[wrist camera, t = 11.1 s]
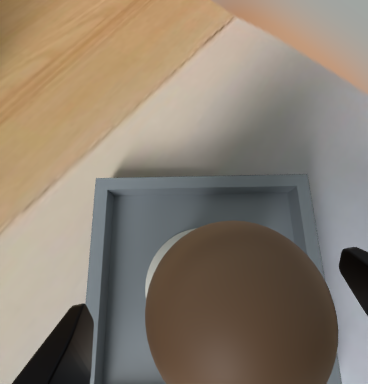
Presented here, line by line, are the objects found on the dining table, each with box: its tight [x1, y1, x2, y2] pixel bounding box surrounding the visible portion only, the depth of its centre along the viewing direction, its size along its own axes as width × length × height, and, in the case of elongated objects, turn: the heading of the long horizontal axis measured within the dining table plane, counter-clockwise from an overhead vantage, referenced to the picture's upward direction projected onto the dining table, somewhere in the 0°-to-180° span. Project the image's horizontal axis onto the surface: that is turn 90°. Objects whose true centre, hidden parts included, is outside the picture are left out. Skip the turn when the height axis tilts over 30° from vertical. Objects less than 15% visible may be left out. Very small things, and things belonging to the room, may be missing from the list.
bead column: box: [145, 221, 338, 384], centre depth 10 cm, size 6×6×13 cm
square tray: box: [86, 174, 342, 384], centre depth 16 cm, size 14×14×2 cm
